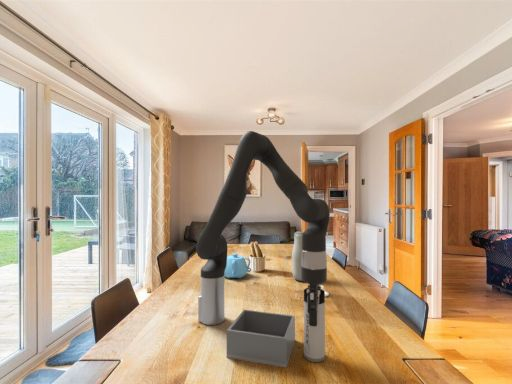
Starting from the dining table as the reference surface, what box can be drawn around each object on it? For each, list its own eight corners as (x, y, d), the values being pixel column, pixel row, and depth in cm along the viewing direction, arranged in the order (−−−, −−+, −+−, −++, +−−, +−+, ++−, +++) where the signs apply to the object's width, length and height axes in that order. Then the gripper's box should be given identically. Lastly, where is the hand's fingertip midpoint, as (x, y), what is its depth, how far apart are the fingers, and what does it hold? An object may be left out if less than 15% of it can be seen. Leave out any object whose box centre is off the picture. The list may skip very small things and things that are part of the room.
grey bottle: (308, 278, 166) (308, 230, 166) (310, 283, 156) (310, 232, 156) (291, 277, 167) (291, 230, 167) (292, 282, 157) (292, 232, 157)
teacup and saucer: (329, 298, 134) (329, 290, 134) (312, 297, 135) (312, 288, 135) (328, 292, 142) (328, 284, 142) (312, 291, 144) (312, 283, 144)
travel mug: (321, 350, 88) (321, 285, 88) (327, 362, 81) (327, 292, 82) (301, 350, 88) (301, 285, 88) (306, 362, 81) (306, 293, 82)
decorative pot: (253, 277, 168) (254, 254, 168) (230, 282, 158) (231, 257, 158) (238, 271, 181) (239, 250, 181) (216, 275, 171) (216, 253, 172)
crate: (226, 357, 84) (226, 330, 84) (244, 332, 99) (244, 309, 99) (286, 367, 79) (286, 338, 79) (294, 339, 94) (294, 315, 94)
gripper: (304, 259, 93) (304, 309, 93) (298, 270, 79) (298, 329, 79) (327, 260, 91) (327, 312, 91) (325, 272, 77) (325, 333, 77)
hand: (314, 320), depth 85 cm, fingers open, 6 cm apart
